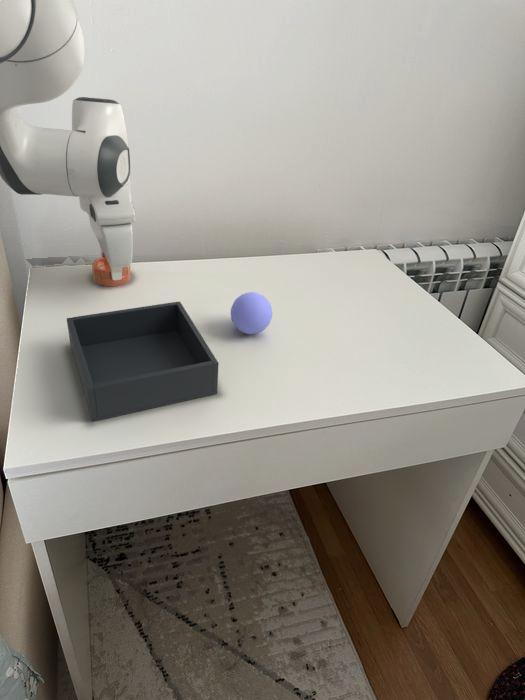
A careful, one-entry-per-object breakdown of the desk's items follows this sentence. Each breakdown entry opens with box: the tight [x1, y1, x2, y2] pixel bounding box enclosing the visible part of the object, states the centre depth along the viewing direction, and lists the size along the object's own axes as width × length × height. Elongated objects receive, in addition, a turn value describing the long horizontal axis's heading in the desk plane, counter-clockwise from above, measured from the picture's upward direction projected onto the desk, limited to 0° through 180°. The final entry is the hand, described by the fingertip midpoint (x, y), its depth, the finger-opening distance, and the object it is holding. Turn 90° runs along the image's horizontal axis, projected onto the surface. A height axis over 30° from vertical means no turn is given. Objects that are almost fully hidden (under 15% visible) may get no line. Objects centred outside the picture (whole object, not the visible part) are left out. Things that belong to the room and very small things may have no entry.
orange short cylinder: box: [91, 256, 131, 287], centre depth 102 cm, size 7×7×3 cm
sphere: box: [230, 291, 273, 335], centre depth 89 cm, size 7×7×7 cm
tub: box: [66, 301, 219, 423], centre depth 78 cm, size 18×18×6 cm
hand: (111, 268), depth 101 cm, fingers closed on orange short cylinder, 7 cm apart
